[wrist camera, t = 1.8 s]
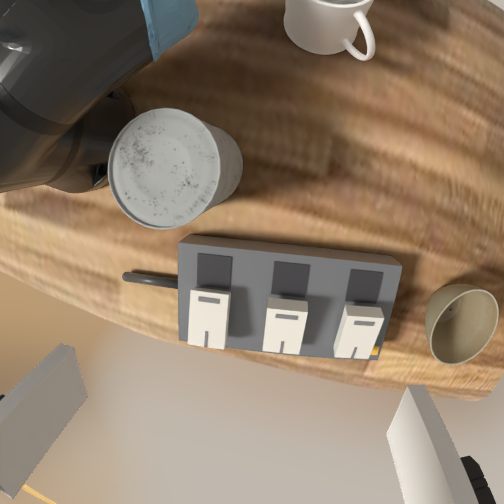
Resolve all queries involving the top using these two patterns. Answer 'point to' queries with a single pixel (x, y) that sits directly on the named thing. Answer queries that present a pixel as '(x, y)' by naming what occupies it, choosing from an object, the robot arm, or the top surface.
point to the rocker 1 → (209, 317)
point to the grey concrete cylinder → (172, 168)
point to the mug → (329, 25)
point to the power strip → (281, 287)
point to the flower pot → (460, 322)
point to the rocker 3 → (358, 331)
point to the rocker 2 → (284, 325)
